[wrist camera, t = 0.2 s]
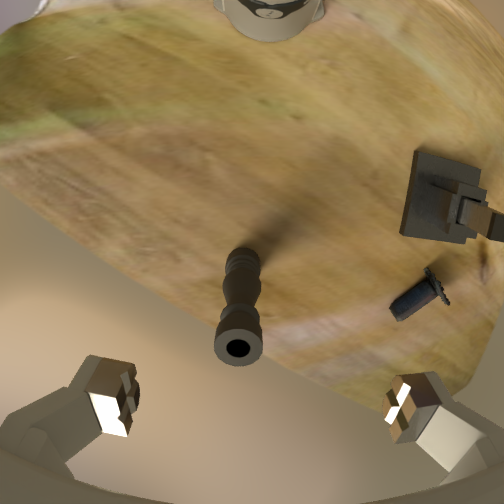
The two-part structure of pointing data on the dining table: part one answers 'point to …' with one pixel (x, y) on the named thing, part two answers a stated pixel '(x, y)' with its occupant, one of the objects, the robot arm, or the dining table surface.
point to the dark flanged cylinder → (418, 297)
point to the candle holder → (240, 311)
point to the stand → (439, 198)
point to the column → (481, 219)
